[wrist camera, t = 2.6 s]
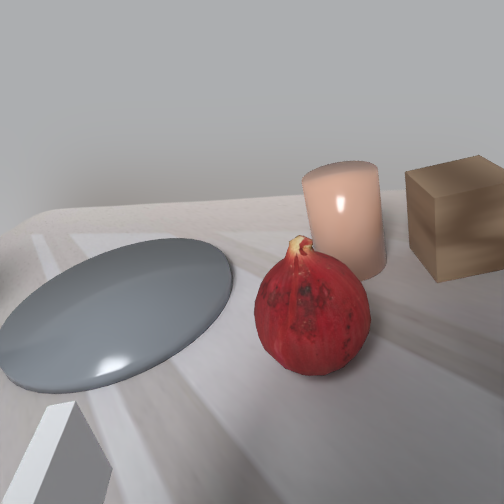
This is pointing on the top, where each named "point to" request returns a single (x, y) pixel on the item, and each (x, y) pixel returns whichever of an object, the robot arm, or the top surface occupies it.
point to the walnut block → (457, 217)
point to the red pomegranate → (311, 311)
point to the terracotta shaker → (347, 215)
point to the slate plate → (114, 315)
